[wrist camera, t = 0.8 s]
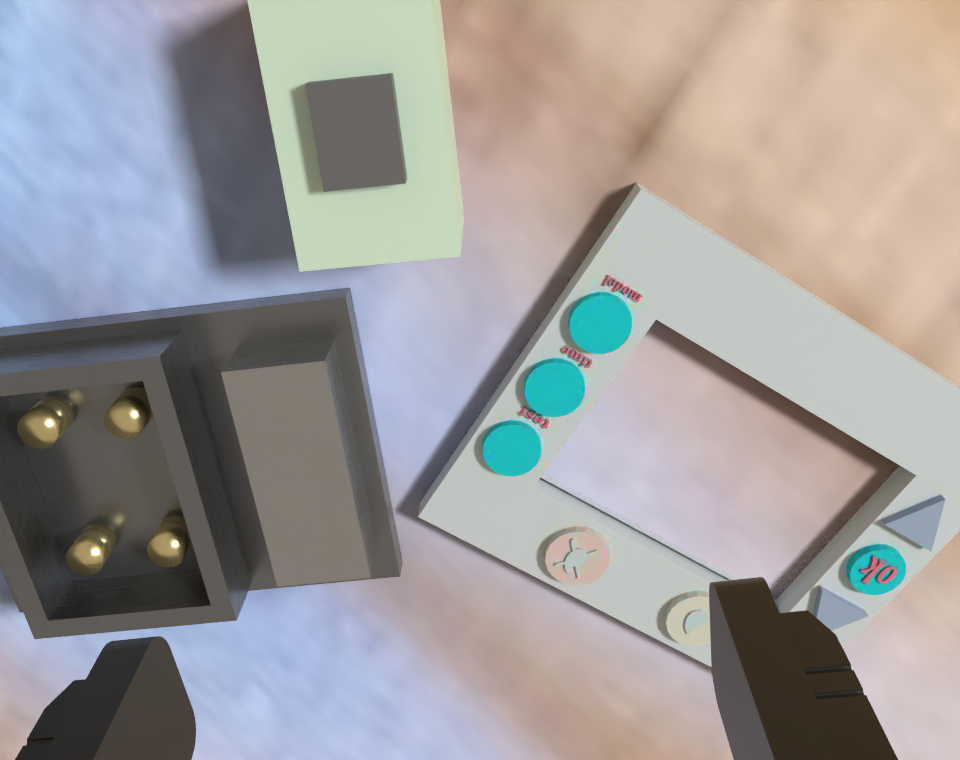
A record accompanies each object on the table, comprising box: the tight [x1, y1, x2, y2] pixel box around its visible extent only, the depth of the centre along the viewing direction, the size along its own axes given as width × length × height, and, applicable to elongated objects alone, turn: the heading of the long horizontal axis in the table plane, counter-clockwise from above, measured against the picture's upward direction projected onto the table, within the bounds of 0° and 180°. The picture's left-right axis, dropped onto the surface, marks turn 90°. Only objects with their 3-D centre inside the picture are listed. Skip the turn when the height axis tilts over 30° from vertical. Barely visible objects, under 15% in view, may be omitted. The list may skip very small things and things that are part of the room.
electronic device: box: [418, 183, 960, 667], centre depth 35 cm, size 18×2×15 cm
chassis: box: [0, 288, 402, 639], centre depth 34 cm, size 12×16×4 cm
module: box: [247, 0, 464, 272], centre depth 28 cm, size 8×5×5 cm, turn 6°
